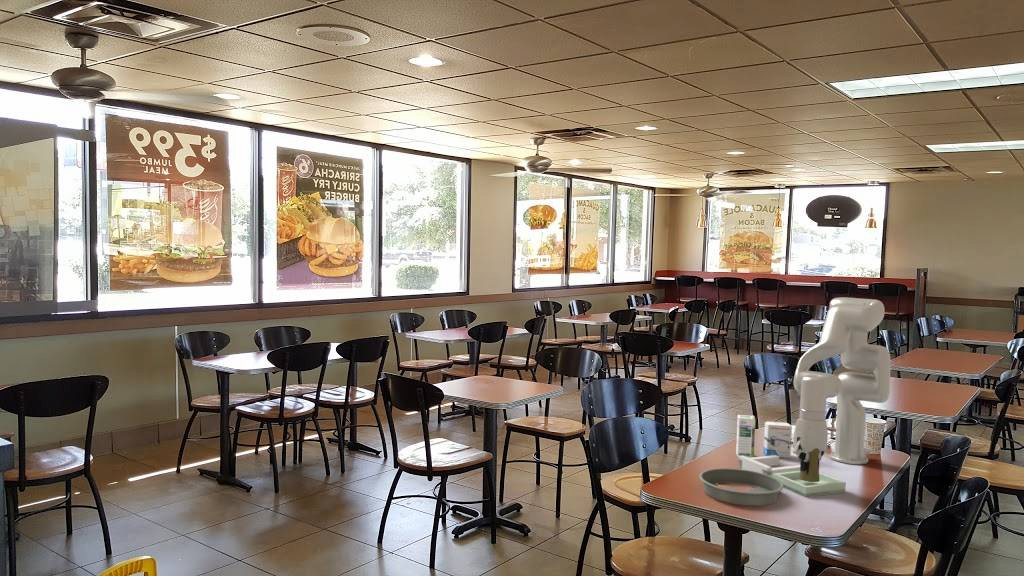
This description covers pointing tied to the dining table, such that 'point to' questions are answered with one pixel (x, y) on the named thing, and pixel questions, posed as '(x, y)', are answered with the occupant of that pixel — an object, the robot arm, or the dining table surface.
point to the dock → (764, 465)
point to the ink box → (777, 439)
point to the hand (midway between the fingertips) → (809, 472)
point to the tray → (810, 484)
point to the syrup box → (745, 436)
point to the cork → (811, 468)
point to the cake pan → (760, 496)
